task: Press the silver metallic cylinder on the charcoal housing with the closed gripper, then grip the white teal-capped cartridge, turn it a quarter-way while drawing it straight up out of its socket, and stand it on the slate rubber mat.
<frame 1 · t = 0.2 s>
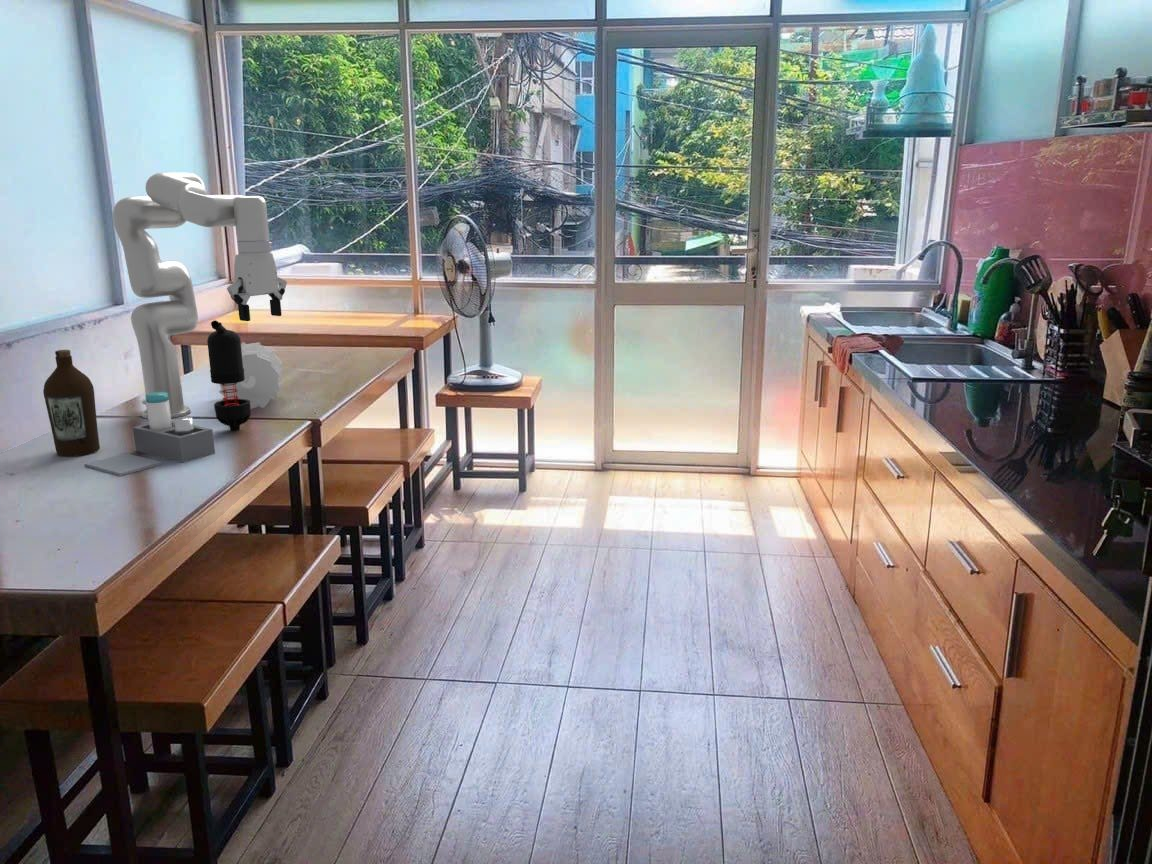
hand: (261, 318, 223), 31 cm above the table, fingers open, 9 cm apart
silver metallic cylinder: (183, 428, 215), point 7 cm above the table, slide at 0.0 cm
olive oil: (78, 452, 220), on the table
filter: (236, 429, 240), on the table
housing: (175, 452, 219), on the table
cartridge: (163, 449, 221), resting in housing
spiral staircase: (253, 403, 268), on the table
mat: (123, 465, 209), on the table
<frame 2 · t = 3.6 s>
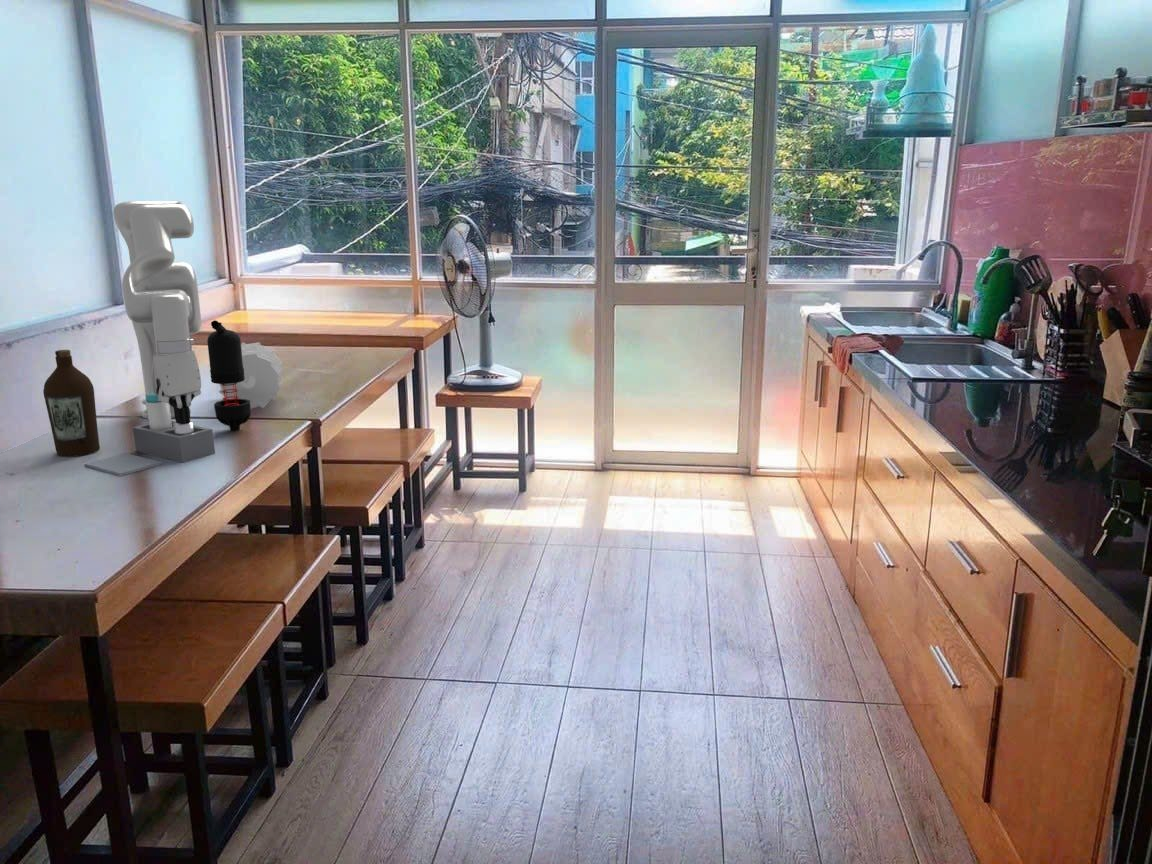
hand: (183, 422, 214), 8 cm above the table, fingers closed
silver metallic cylinder: (184, 432, 215), point 6 cm above the table, slide at 1.0 cm, touching gripper
everything else where it was.
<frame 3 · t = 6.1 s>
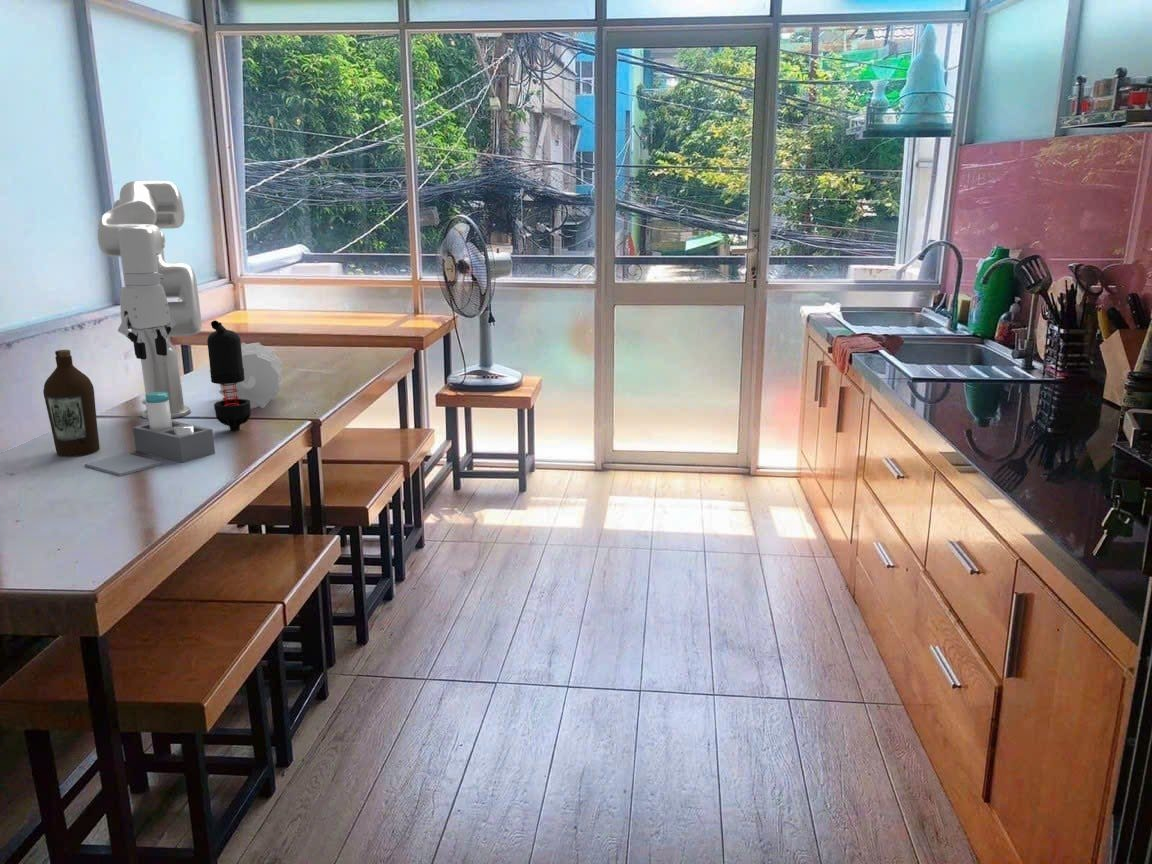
hand: (151, 356, 215), 23 cm above the table, fingers open, 4 cm apart
silver metallic cylinder: (184, 436, 216), point 5 cm above the table, slide at 2.0 cm
everything else where it was.
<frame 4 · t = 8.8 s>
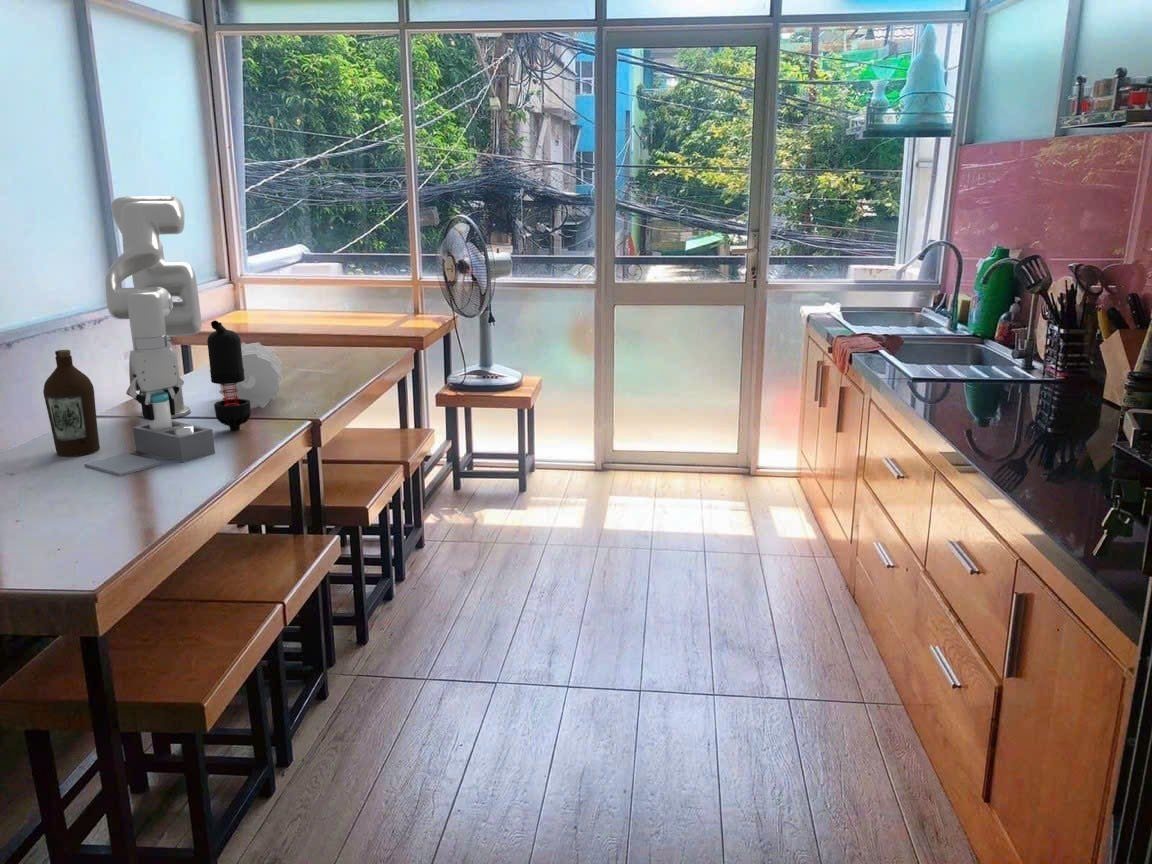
hand: (159, 416, 219), 8 cm above the table, fingers closed on cartridge, 5 cm apart
cartridge: (164, 449, 221), resting in housing, touching gripper
everything else where it was.
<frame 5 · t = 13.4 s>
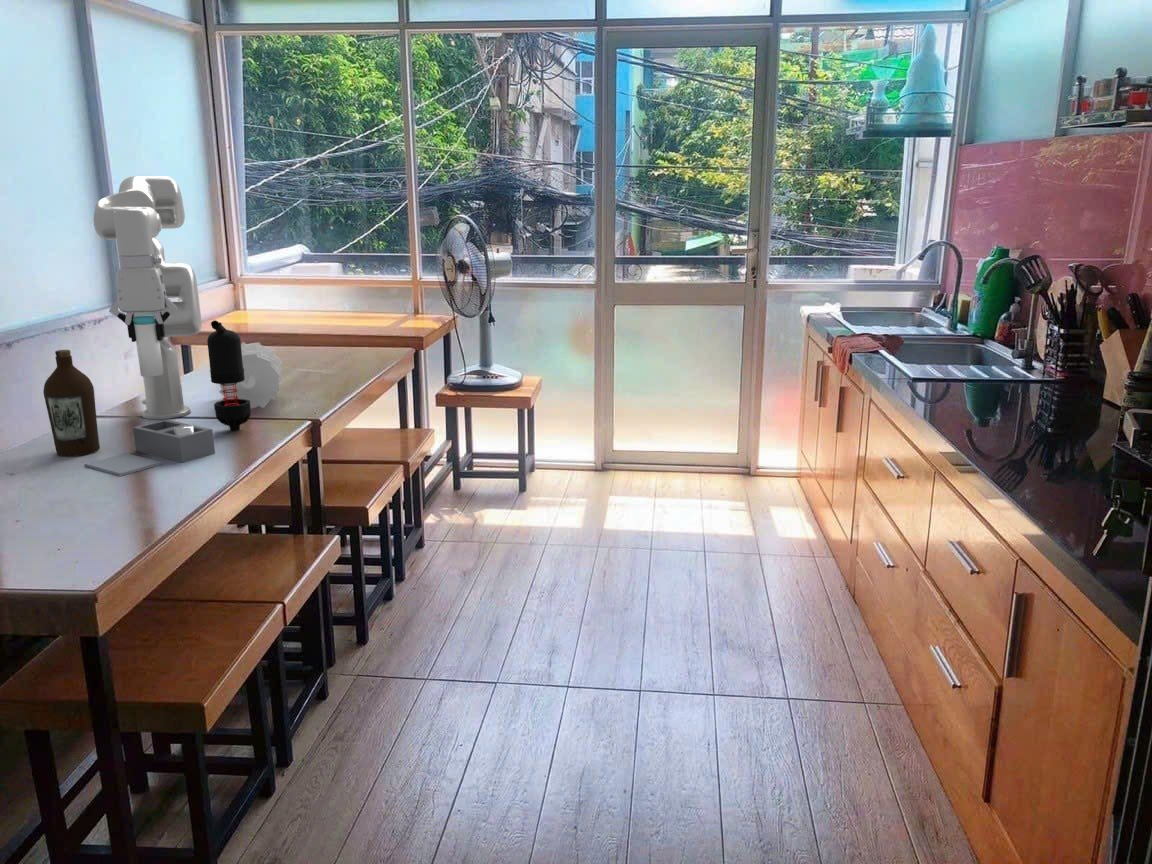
hand: (147, 339, 213), 27 cm above the table, fingers closed on cartridge, 5 cm apart
cartridge: (152, 374, 216), point 19 cm above the table, touching gripper
everything else where it was.
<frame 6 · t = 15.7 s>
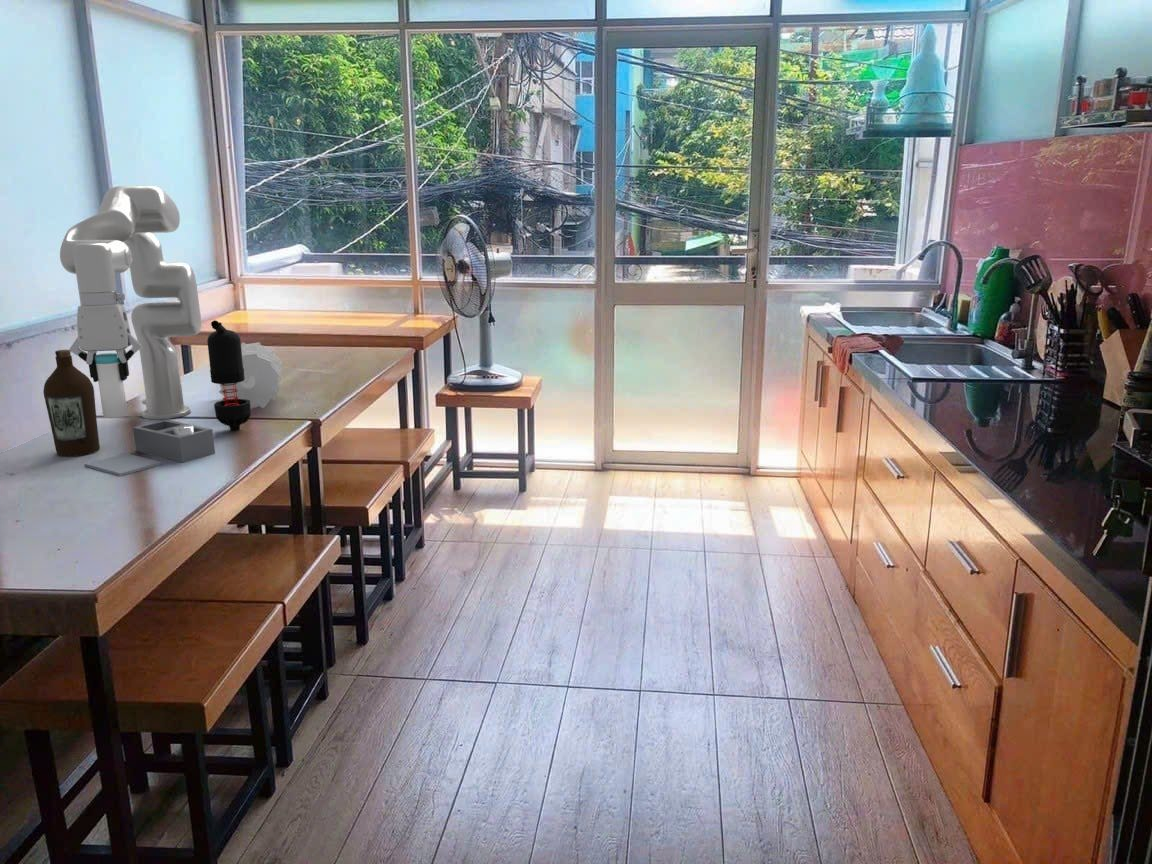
hand: (110, 379, 203), 21 cm above the table, fingers closed on cartridge, 5 cm apart
cartridge: (115, 415, 205), point 12 cm above the table, touching gripper
everything else where it was.
when the fingers open (10 cm above the table, at t = 18.0 s): cartridge stays where it is, resting on mat.
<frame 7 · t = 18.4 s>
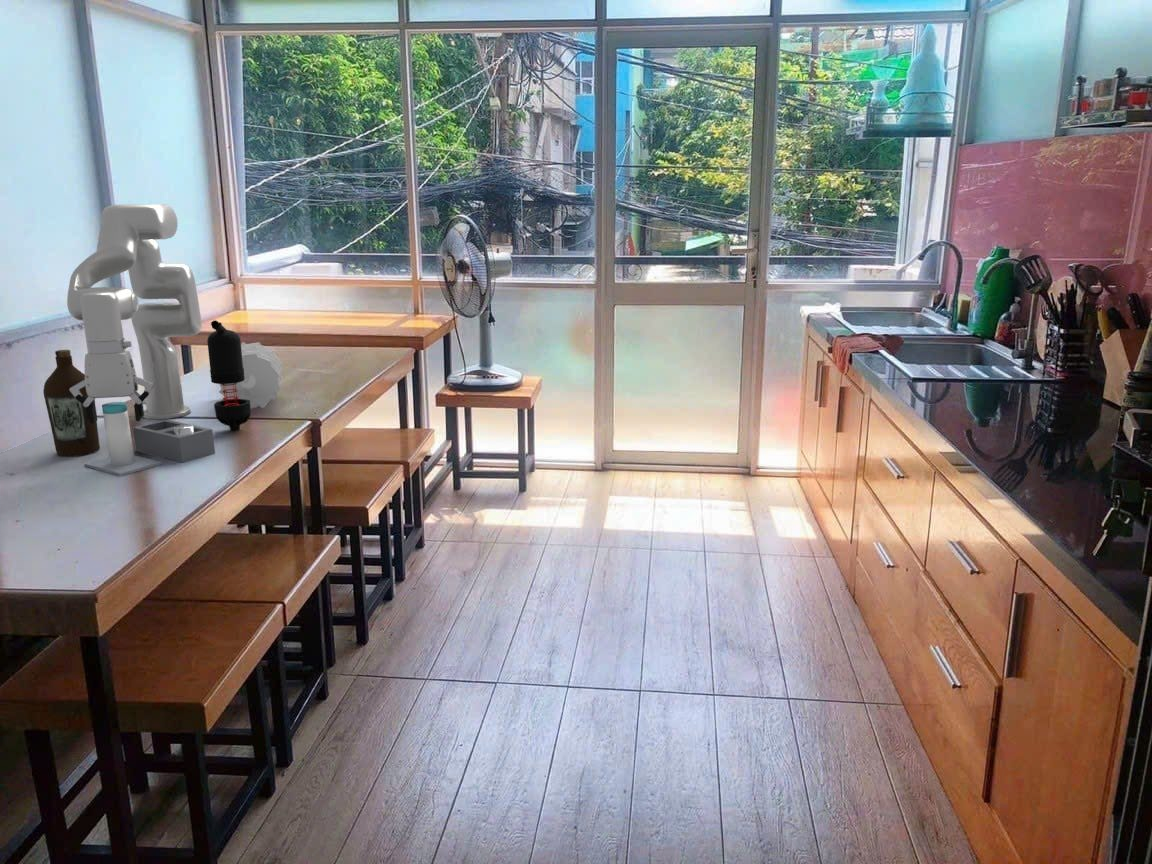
hand: (116, 421, 206), 11 cm above the table, fingers open, 9 cm apart
cartridge: (122, 462, 209), point 1 cm above the table, touching mat
everything else where it was.
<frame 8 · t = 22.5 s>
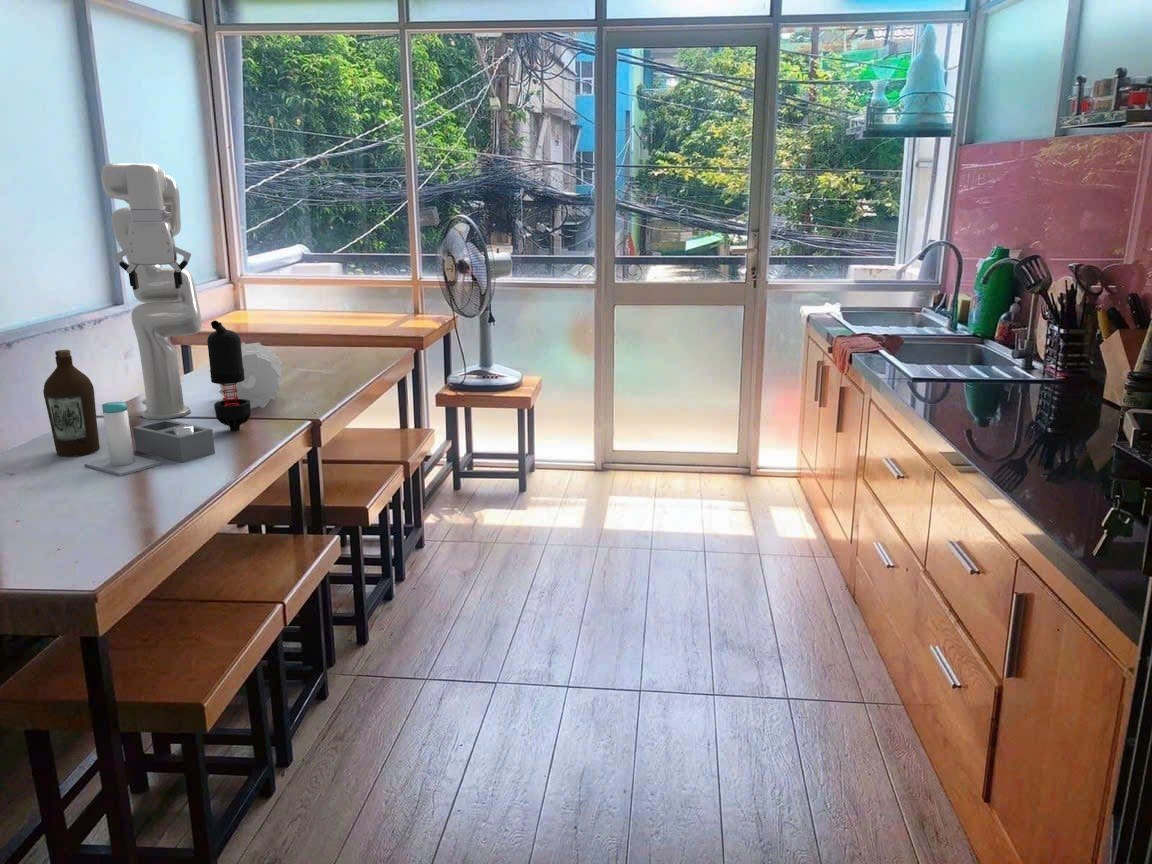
hand: (157, 288, 221), 38 cm above the table, fingers open, 9 cm apart
nothing on the table moved.
at the end: silver metallic cylinder slide at 2.0 cm; cartridge inside the target area on the mat (0.1 cm from its centre), point 0.6 cm above the mat's base; cartridge tilted 1° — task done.
